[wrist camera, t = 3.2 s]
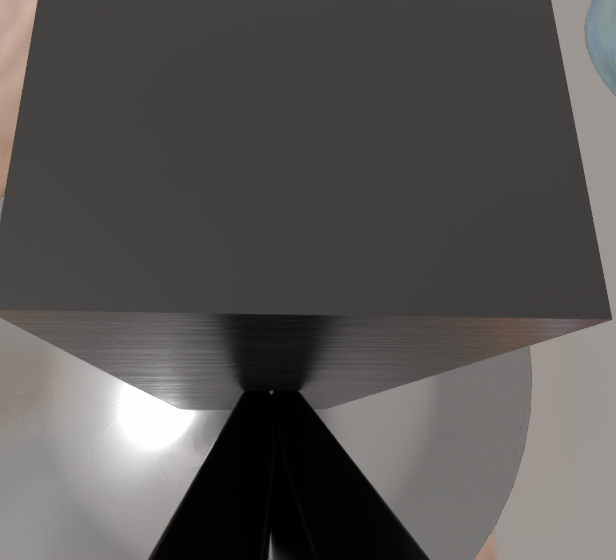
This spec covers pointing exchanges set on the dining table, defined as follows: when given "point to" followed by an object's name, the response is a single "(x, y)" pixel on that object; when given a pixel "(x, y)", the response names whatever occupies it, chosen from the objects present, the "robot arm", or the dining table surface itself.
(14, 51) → the dining table surface
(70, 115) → the disc with square post
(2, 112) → the dining table surface
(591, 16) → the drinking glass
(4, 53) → the dining table surface
